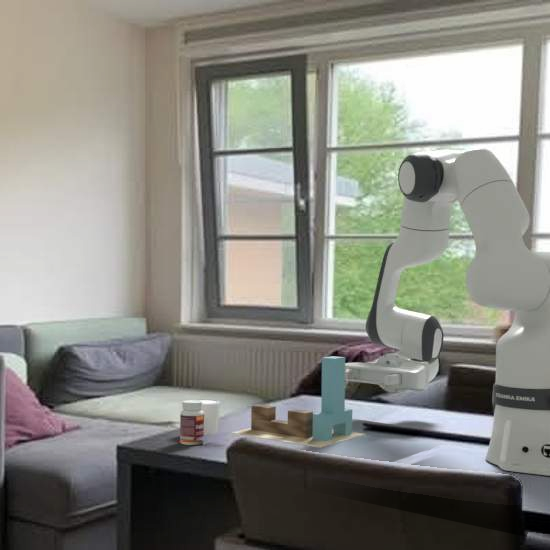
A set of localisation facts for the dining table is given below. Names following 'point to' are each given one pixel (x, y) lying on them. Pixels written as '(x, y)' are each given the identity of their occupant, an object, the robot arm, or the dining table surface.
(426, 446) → the dining table surface
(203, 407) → the white cup
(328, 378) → the angled bracket
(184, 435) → the pill bottle
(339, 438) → the jig board
